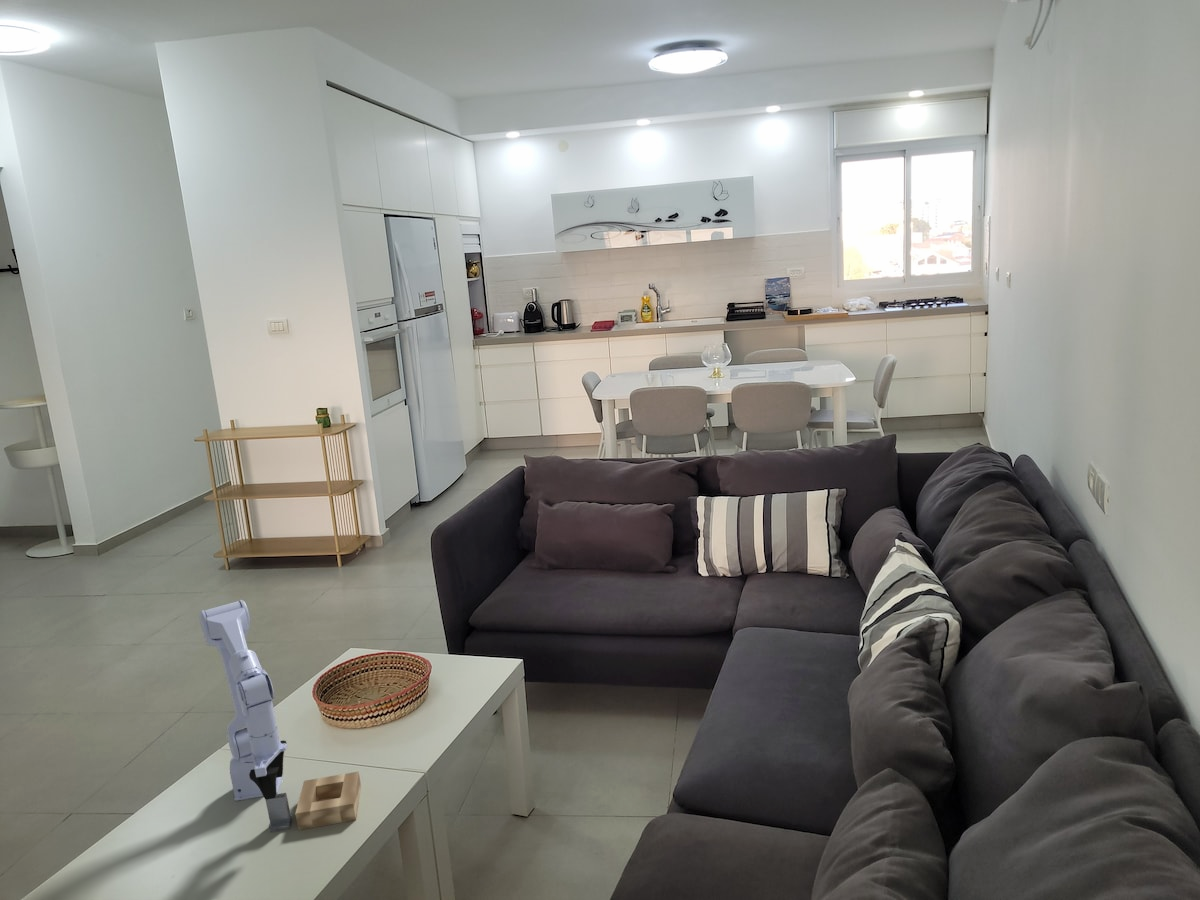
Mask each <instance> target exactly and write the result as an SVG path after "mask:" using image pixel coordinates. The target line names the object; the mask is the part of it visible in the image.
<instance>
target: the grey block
mask: <svg viewBox="0 0 1200 900" xmlns="http://www.w3.org/2000/svg"><path fill="white" fill-rule="evenodd" d="M265 804H266V809H267V813H268V819H269V823H270V825H269V833H274V832H280V831H285V830H290V829H291V826H292V822H293V817H294V815H293V813H291V810H290V806H289V805H290V804H289V799H288V795H287V792H282V793H277V794H276V797H275V798H273V799H267V800H266V799H265Z"/></svg>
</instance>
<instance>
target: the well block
mask: <svg viewBox="0 0 1200 900" xmlns="http://www.w3.org/2000/svg"><path fill="white" fill-rule="evenodd" d="M361 791H362V783H361V778H360V773H359V771H355V772H347V773H342V774H338V775H337V774H335V775H329V776H324V777H319V778H313V779H307V780H303V782H302V787H301V790H300V795H299V799H298V802H297V806H296V809H295V813H294V814H295V820H296V823H297V829H298V831H299V830H308V829H311V828H312V829H313V828H317V827H323V826H324V827H325V826H329V825H335V824H339V823H345V822H353V821H357V816H358V810H359V803H360V798H361Z"/></svg>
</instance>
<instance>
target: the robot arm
mask: <svg viewBox="0 0 1200 900" xmlns="http://www.w3.org/2000/svg"><path fill="white" fill-rule="evenodd" d="M198 616H199V617H198V619H199V622H200V627H201V630H202V633H203V638H204V642H205V643H206V645H207V646H209V647H216V649H217V651H218V652H219V654H220V657H221V662H222V665H223V669H224V672H225V676H226V677H225V678H226V680H227V684H228V688H229V692H230V696H231V701H232V703H233V708H234V711H235V716H234V718H232V719H231V721H230V722H229V723H228V725H227V727H226V728H227V729H226V734H227V741H228V745H229V749H230V753H231V755H232V756H231V758H230V762H229V774H230V781H231V784H232V785H231V786H232V789H233V793H234V794H233V796H234V798H233V799H234V801H235V802H237V801H244V800H249V799H254V798H255V799H256V798H259V797H261V798H262V797H264V799H265V801H266V800H267V799H273V798H275V797H276V794H279V793H278V792H279V789H280V787H281V783H282V779H283V777H284V754H285V751H287V747H288V745H287V740H281V739H280V735H279V730H278V725H277V720H276V719H277V718H276V714H275V709H274V704H273V700H274V698H275V695H274V693H275V691H274V687H273V683H272V680H271V678H270V675H269V674H268V672H267V671H266V669H263V668H262V665H261V663H260V661H259V658H258V654H257V653H256V651H254V650H252V649H249V648H248V645H247V641H246V636H247V635H248V634H249V630H250V623H251V618H250V617H251V616H250V613H249V609H248V606H247V604H246V602H245V600H242V599H238V601H234V602H230V603H227V604H223V605H219V606H216V607H212V608H209V609H204V610H200V612H199V614H198ZM241 728H242V729H241Z"/></svg>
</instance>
